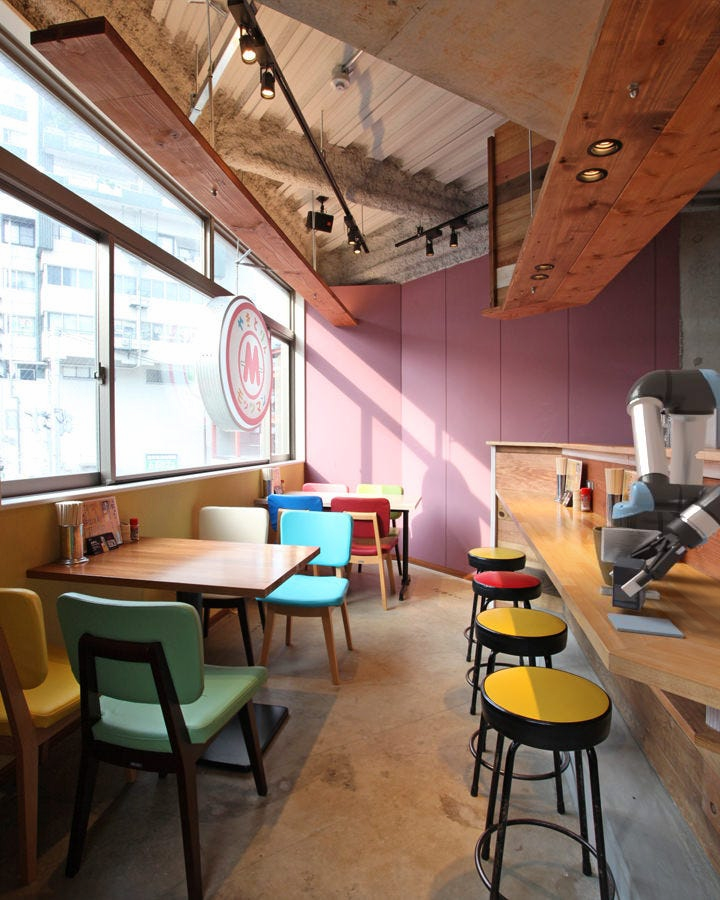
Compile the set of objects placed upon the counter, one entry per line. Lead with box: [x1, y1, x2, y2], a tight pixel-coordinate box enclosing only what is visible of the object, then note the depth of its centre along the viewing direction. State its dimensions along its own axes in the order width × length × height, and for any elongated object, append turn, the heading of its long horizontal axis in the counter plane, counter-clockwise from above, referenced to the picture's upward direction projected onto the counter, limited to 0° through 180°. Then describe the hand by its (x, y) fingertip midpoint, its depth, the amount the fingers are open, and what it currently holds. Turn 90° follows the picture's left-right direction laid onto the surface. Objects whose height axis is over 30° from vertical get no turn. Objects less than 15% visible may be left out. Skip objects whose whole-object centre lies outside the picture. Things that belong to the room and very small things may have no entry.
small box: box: [611, 557, 647, 612], centre depth 124 cm, size 11×6×10 cm, turn 144°
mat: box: [606, 612, 685, 639], centre depth 113 cm, size 10×13×1 cm
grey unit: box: [599, 527, 662, 601], centre depth 136 cm, size 4×14×18 cm, turn 75°
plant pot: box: [592, 525, 630, 586], centre depth 147 cm, size 15×15×16 cm
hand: (619, 584), depth 124 cm, fingers closed on small box, 12 cm apart
